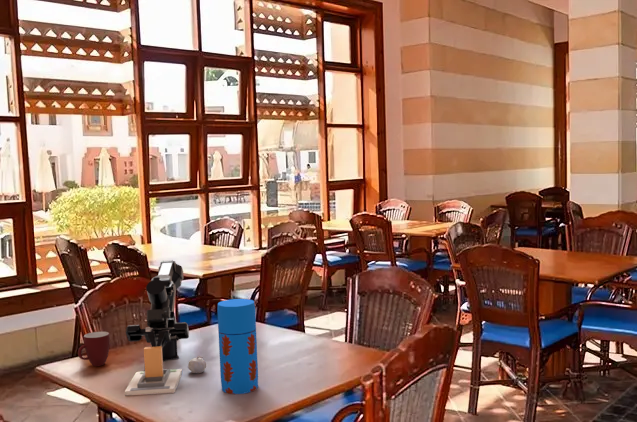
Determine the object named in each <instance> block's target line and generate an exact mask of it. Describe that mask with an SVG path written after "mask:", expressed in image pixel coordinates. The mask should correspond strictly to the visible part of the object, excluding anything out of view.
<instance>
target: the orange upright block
mask: <svg viewBox="0 0 637 422" xmlns="http://www.w3.org/2000/svg"><path fill="white" fill-rule="evenodd" d="M143 356H144V357H143V360H144V371H145V381H161V380H162V379H163V377H164V374H163V369H164V362H163V361H164V360H163V358H162V346H157V347H152V346H145V347H144V348H143Z"/></svg>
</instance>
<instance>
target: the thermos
mask: <svg viewBox="0 0 637 422" xmlns="http://www.w3.org/2000/svg"><path fill="white" fill-rule="evenodd" d="M255 306H256V305H255V300H253V299H247V298H246V299H245V298H233V299H226V300H222V301H219V302H218V303H217V330H218V348H219V350H218V351H219V352H218V353H219V368H220V370H219V372H220V373H219V374H220V385H221V391H222V392H223V393H226V394H230V395H244V394H248V393H252V392H254V391H256V390H257V389H258V388H259V366H258V344H257V343H258V342H257V341H258V339H257V321H256V317H257V316H256V307H255Z"/></svg>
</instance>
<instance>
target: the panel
mask: <svg viewBox="0 0 637 422" xmlns="http://www.w3.org/2000/svg"><path fill="white" fill-rule="evenodd" d="M163 374H164V377H163V379H162V380H161V381H145V370H144V371H143V370H140V371H136V372H135V374H134V375H133V377H132V379H131V380H130V382H129V383H128V384H127V387H125V391H124V396H137V395H141V396H142V395H154V394H156V395H157V394H172V393H173V394H175V392H176V391H177V387H178V385H179V382H180V380H181V377H182V375H183V369H182V368H181V369H179V368H178V369H177V368H176V369H174V368H173V369H171V368H166V369H165V368H163Z"/></svg>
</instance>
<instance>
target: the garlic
mask: <svg viewBox="0 0 637 422" xmlns="http://www.w3.org/2000/svg"><path fill="white" fill-rule="evenodd" d="M203 358H204V356H202V355H198V356H197V357H194V358H192V359H190V360H189V361H188V366H187V368H188V369H189V371H190V372H191V373H193V374H201V373H203V372H205V370H206V369H207V362H206V360H204V359H203Z"/></svg>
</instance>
